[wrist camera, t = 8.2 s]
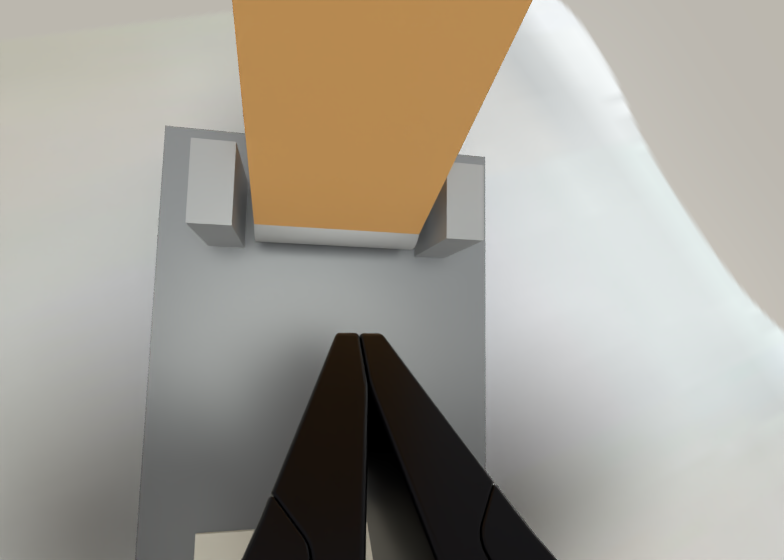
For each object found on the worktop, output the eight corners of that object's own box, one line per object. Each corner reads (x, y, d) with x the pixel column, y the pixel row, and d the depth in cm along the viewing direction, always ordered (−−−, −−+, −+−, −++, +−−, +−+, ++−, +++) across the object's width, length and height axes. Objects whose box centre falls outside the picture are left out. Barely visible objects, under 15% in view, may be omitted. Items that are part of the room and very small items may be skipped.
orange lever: (407, 261, 14) (583, -100, 6) (256, 254, 13) (212, -184, 5) (403, 206, 15) (552, -177, 7) (261, 196, 14) (230, -260, 6)
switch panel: (461, 740, 16) (542, 932, 11) (138, 794, 14) (51, 1061, 9) (463, 175, 18) (532, 116, 13) (180, 150, 16) (129, 67, 11)
